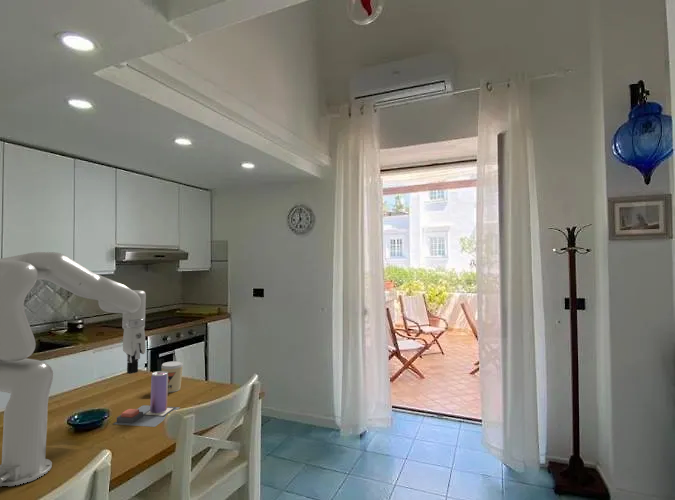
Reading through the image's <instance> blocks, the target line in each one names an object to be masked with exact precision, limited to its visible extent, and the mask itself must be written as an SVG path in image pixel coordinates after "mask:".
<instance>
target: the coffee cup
mask: <svg viewBox="0 0 675 500" xmlns="http://www.w3.org/2000/svg"><path fill="white" fill-rule="evenodd" d="M183 363H184V362H182V361H177V360H176V361H175V360H174V361H173V360H172V361H167V362H163V363H162V364H161V366H160V367H161V371H167V372H168V393H174V392H178V391H180V390H181V386H182V378H183V377H182V376H183V368H184V367H183V366H184V364H183Z"/></svg>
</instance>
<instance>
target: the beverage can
mask: <svg viewBox="0 0 675 500" xmlns="http://www.w3.org/2000/svg"><path fill="white" fill-rule="evenodd" d="M150 378H151V379H150V380H151V381H150V402H149V403H150V405H149V406H150V412H151V413H152V414H161V413H164V412H165V411H166V410H167V407H168V394H169V392H168V372H167V371H162V370H159V371H153V372H152V373H151V377H150Z"/></svg>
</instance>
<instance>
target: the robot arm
mask: <svg viewBox="0 0 675 500" xmlns="http://www.w3.org/2000/svg"><path fill="white" fill-rule="evenodd" d="M37 281H48V282H50V283H52V284H54V285H57V286H58V287H61V288H62V289H63V290H66V291H68V292H70V293H72V294H73V295H75V296H78V297H81V298H84V299H89V300H95V301H98V303H97V304H98V307H99V308H100V310H102V311H103V312H106V313H113V314H122V319H121V320H122V325H121V327H122V329H123V334H122V335H123V337H122V350H123V352H124V353H125V354H126V362H127V365H126V373H127V374H130V375H131V374H136V373H139V371H138V370H139V359H141V355H145V354H146V331H145V328H146V304H147V303H146V301H147V294H146V291H145V290H139V289H137V290H135V289H131V288H130V287H128V286H126V285H125V284H122V283H121V282H117V281H116V280H113V279H110V278H108V277H106V276H104V275H103V276H102V275H100V274H98V273H96V272H94V271H92V270H90V269H88V268H87V267H85V266H84V265H82V264H80V263H78V261H76V260H74V259H72V258H70V257H69V256H67V255H65V254H63V253H61V252H54V251H53V252H49V251H47V252H46V251H38V252H37V251H36V252H29V253H23V254H19V255H13V256H8V257H2V258H0V392H1V393H6V394H10V397H9V399H8V401H7V404H6V406H5V408H4V412H3V420H2V421H3V429H2V430H3V431H2V445H1V447H2V450H1V464H0V487H2V486H8V487H15V485H16V486H20V484H21V485H24V484H27V482H28V483H30V482H33V481H35V480H38V479H40V478H42V477H43V476H44V474H45V475H46V474H47V473H48V471H50V470H51V469H52V467H53V466H52V465H53V462H52V461H51V460H50V459H48V458H46V452H47V451H46V450H47V431H48V408H49V406H48V405H49V404H48V403H49V396H50V390H51V387H52V384H53V380H54V371H53V370H54V369H52V367H51V365H50V364H48V363H47V362H45V361H43V360H39V359H33V358H30V356H31V355H32V354H34V352H35V349H36V345H37V343H36V339H35V336H34V334H33V333H34V332H33V331H32V328H31V325H30V323H29V320H28V318H27V315H26V311H25V306H24V305H25V300H26V298H27V296H28V294H29V293H30V291H31V290H32V289H33V287H34V286H35V285H36V283H37ZM28 357H29V358H28ZM41 476H42V477H41ZM39 477H40V478H39ZM37 478H38V479H37ZM23 483H24V484H23Z"/></svg>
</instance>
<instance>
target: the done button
mask: <svg viewBox="0 0 675 500" xmlns="http://www.w3.org/2000/svg"><path fill="white" fill-rule="evenodd" d="M137 414H139V409H138V408H128V409H126V410H124V411H123V412H121V413H120V415H121V417H129V418H133V417H134V416H136V415H137Z"/></svg>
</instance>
